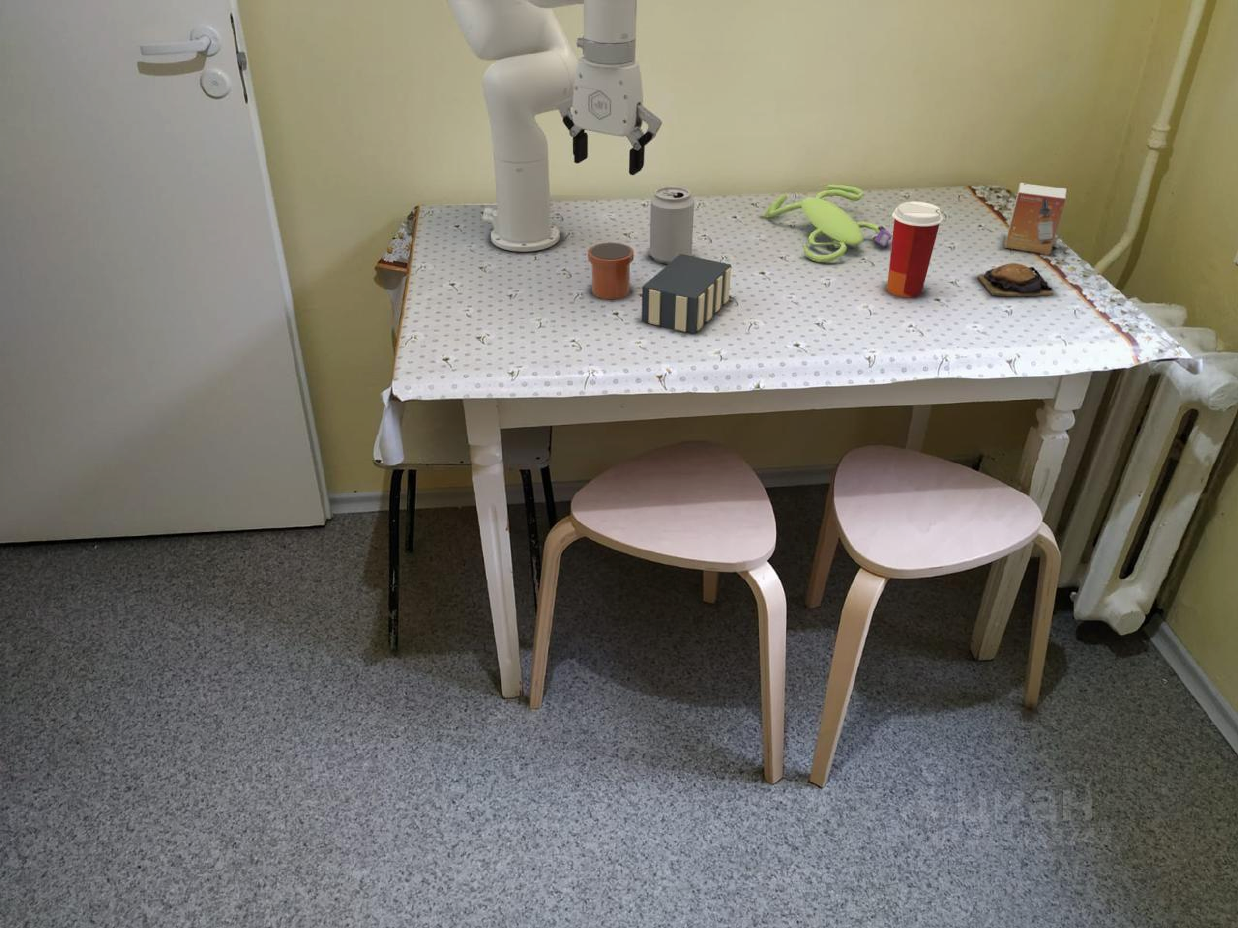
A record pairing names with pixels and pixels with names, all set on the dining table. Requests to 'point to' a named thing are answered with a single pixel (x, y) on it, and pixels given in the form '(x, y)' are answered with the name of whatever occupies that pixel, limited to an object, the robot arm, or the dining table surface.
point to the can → (671, 223)
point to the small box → (1035, 218)
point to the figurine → (830, 221)
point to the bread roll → (1015, 281)
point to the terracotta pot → (610, 269)
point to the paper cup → (912, 247)
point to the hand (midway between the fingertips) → (607, 166)
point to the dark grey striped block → (686, 293)
